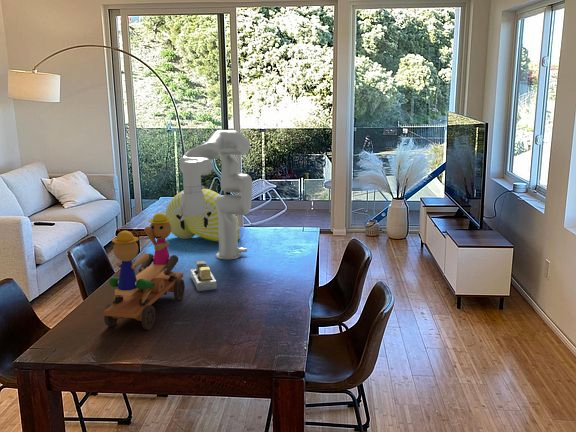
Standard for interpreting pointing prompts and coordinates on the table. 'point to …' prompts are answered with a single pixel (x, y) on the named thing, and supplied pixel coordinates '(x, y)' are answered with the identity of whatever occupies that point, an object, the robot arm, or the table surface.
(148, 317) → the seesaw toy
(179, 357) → the table surface
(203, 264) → the seated steel block
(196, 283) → the grey block holder tray
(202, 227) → the shell
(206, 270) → the brass block
